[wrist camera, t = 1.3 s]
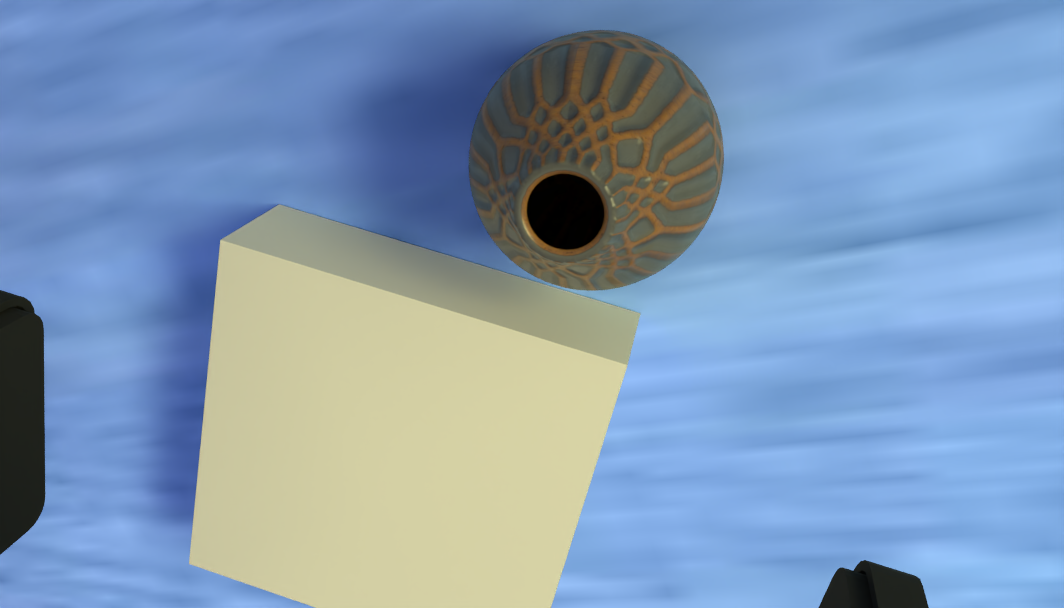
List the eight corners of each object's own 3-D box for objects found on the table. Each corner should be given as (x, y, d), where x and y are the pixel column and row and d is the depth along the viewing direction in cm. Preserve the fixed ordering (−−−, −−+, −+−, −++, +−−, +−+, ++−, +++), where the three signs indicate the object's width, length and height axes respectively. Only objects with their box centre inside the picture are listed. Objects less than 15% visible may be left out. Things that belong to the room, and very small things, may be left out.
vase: (520, 246, 31) (444, 358, 23) (489, 33, 28) (392, 74, 20) (731, 233, 29) (729, 347, 21) (718, 5, 27) (710, 38, 19)
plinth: (279, 204, 32) (220, 239, 28) (640, 313, 31) (627, 365, 27) (242, 501, 37) (188, 563, 34) (548, 604, 36) (527, 680, 32)
